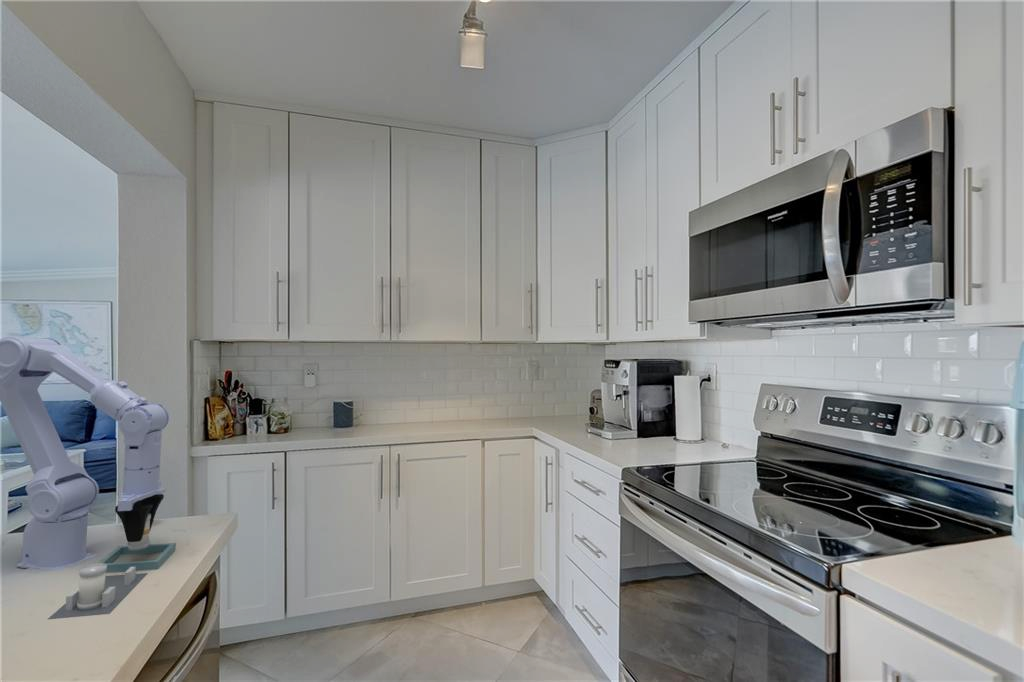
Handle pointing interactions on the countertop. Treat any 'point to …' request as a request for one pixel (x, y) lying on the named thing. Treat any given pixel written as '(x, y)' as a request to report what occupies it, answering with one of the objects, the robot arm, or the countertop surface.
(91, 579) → the cylinder
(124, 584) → the fuse board
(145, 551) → the tray
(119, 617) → the countertop surface
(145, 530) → the marked fuse
